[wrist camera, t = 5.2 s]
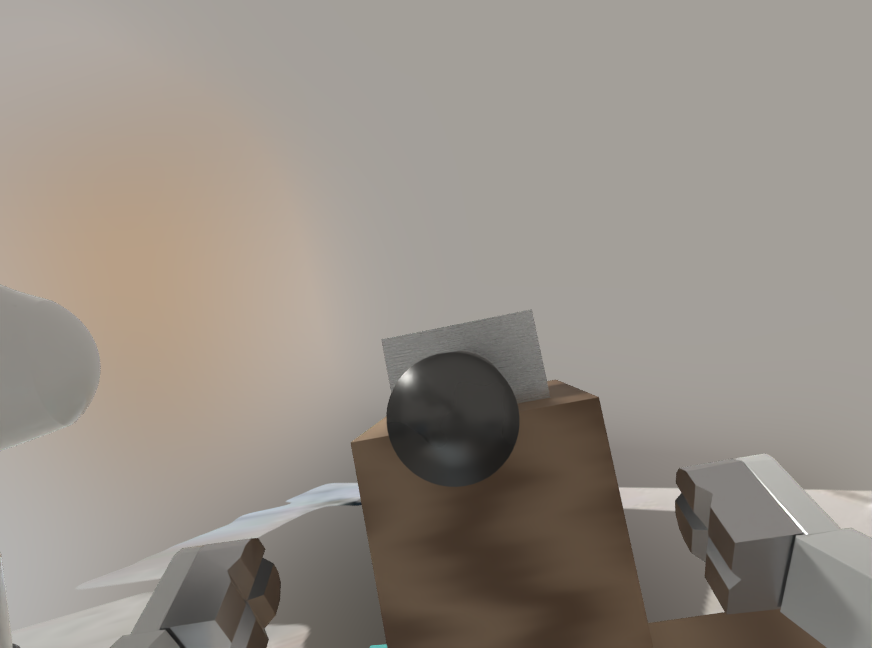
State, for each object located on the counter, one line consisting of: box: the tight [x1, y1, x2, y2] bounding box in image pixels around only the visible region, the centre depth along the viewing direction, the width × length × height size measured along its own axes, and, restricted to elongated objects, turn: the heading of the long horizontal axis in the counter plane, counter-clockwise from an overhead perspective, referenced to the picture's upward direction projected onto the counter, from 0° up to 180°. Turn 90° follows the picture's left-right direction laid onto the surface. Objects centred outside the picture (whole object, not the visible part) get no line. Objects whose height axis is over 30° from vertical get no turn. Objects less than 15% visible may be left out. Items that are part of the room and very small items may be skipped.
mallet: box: [382, 310, 550, 487], centre depth 18 cm, size 7×16×4 cm, turn 175°
